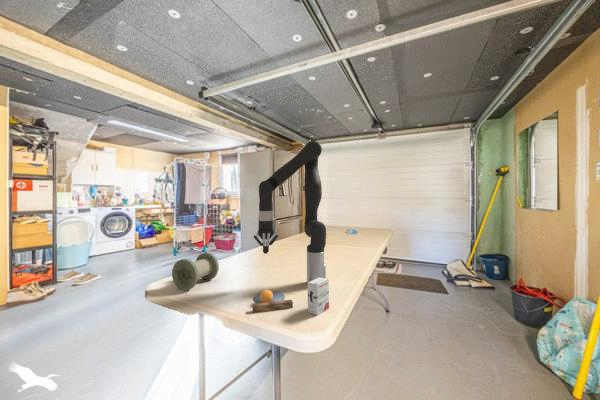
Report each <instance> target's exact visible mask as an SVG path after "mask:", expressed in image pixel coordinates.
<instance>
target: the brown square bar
mask: <svg viewBox="0 0 600 400" xmlns="http://www.w3.org/2000/svg"><path fill="white" fill-rule="evenodd" d="M293 303H294V302H293V300H292V299H286V300H285V299H284V300H283V301H275V302H266V303H253V304H252V314H255V313H264V312H270V311H277V310H285V309H291V308H292V309H293V306H294V305H293Z"/></svg>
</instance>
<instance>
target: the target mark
mask: <svg viewBox="0 0 600 400" xmlns="http://www.w3.org/2000/svg"><path fill="white" fill-rule="evenodd" d="M270 291H271V292H272V293H273V299H272V301H271V302H275V301H283V300H285V297H286V296H285V294H284V293H282V292H280V291H276V290H275V291H274V290H270ZM260 294H261V292H260V293H259V292H258V293H257V294H256V295H254V297H253V302H254V303H255V304H258V303H262V302H261V300H260Z"/></svg>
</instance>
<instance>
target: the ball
mask: <svg viewBox="0 0 600 400" xmlns="http://www.w3.org/2000/svg"><path fill="white" fill-rule="evenodd" d="M271 291H272V290H270V289H264V290H262V291H261V292H260V293H261V294H260V300H261V302H262V303H266V302H271V301H272V299H273V293H272V292H271Z"/></svg>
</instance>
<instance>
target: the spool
mask: <svg viewBox="0 0 600 400" xmlns="http://www.w3.org/2000/svg"><path fill="white" fill-rule="evenodd" d="M219 266H220V265H219V262H218V258H217V257H216V256H215V255H214V254H213V253H211V252H203V253H200V254H198V256H197V257H196V258H195V261H192V260H190V259H189V258H182V259H180V260H177V261H176V262H175V263H174V265H173V267H172V270H171V271H172V272H171V277H172V281H173V283H174V285H175V287H177V288H178V289H179V290H181V289H184V290H183V291H189V290H191V289H193V288H194V287H195V286H197V282H198V280H199V279H201V278H202V279H201V280H203V279H207V280H206V281H210V280H213V279H215V277H216V276H217V275H218V272H219V269H220V267H219Z"/></svg>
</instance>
